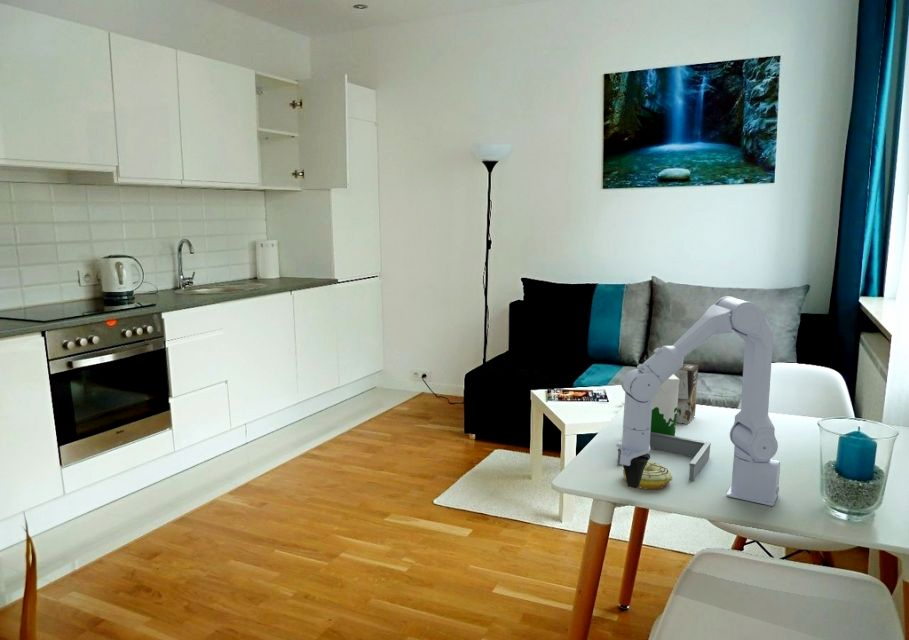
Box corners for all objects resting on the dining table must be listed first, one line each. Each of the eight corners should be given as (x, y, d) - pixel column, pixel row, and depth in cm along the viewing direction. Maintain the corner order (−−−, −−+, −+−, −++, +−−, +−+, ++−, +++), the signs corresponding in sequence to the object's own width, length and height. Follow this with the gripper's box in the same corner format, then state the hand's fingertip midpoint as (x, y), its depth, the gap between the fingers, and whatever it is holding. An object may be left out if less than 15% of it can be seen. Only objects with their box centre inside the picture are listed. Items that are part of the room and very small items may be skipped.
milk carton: (636, 433, 189) (640, 363, 186) (669, 434, 189) (673, 364, 186) (644, 444, 181) (648, 371, 177) (678, 445, 180) (683, 371, 177)
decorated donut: (680, 484, 156) (681, 468, 155) (650, 495, 149) (651, 479, 149) (643, 469, 164) (644, 455, 163) (613, 480, 158) (614, 464, 157)
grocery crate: (709, 458, 171) (710, 442, 171) (693, 481, 157) (695, 464, 156) (638, 444, 181) (639, 429, 180) (617, 464, 166) (617, 448, 166)
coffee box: (688, 425, 197) (692, 370, 195) (666, 421, 201) (669, 367, 198) (695, 416, 205) (699, 364, 202) (674, 413, 208) (677, 361, 206)
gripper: (629, 414, 153) (625, 471, 156) (607, 432, 141) (603, 493, 143) (660, 420, 150) (656, 478, 152) (640, 438, 137) (636, 501, 140)
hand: (633, 486), depth 147 cm, fingers closed
